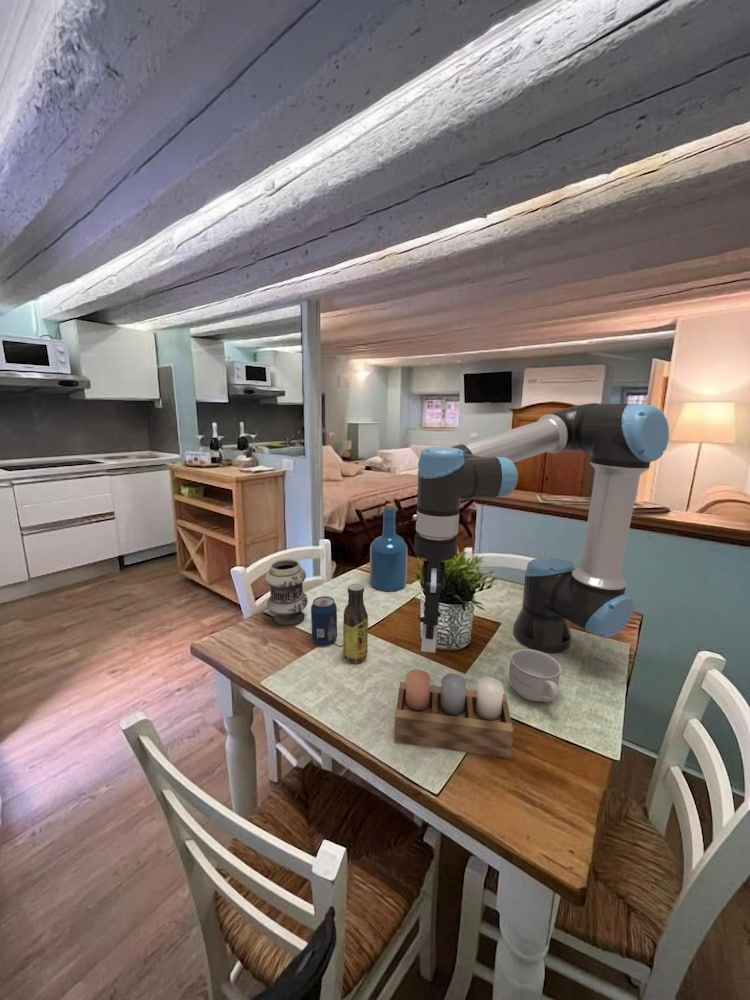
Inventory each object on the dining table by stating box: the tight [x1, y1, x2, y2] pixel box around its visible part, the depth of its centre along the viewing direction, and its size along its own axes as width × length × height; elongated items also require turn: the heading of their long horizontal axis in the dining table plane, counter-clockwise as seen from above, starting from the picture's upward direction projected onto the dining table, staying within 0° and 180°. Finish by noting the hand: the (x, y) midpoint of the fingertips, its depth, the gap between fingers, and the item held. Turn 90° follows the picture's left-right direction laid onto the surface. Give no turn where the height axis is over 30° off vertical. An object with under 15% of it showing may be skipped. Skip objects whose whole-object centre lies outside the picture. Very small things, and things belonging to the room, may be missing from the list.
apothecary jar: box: [265, 558, 309, 629], centre depth 122 cm, size 12×12×18 cm
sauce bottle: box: [342, 583, 369, 665], centre depth 103 cm, size 6×6×20 cm
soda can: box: [310, 595, 338, 647], centre depth 112 cm, size 7×7×12 cm
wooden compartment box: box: [393, 681, 515, 759], centre depth 82 cm, size 22×10×6 cm, turn 81°
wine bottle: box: [369, 503, 409, 592], centre depth 144 cm, size 14×13×30 cm
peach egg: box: [405, 669, 431, 712], centre depth 82 cm, size 5×5×6 cm
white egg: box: [476, 676, 504, 721], centre depth 80 cm, size 5×5×6 cm
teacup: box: [508, 648, 562, 702], centre depth 92 cm, size 14×11×8 cm
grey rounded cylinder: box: [440, 672, 467, 716], centre depth 81 cm, size 5×5×6 cm
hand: (428, 649), depth 79 cm, fingers closed
